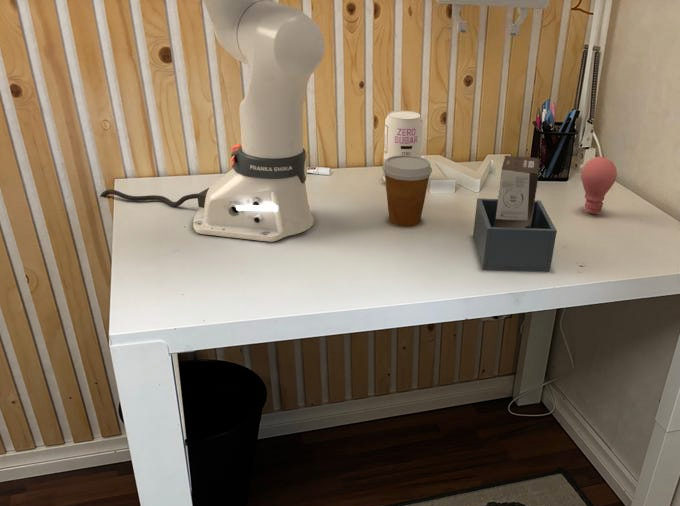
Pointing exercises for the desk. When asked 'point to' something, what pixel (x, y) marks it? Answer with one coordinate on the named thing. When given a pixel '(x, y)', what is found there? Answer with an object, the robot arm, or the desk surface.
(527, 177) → the coffee box
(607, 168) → the light bulb
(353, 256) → the desk surface
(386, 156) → the supplement can
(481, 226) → the open box
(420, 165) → the disposable coffee cup
